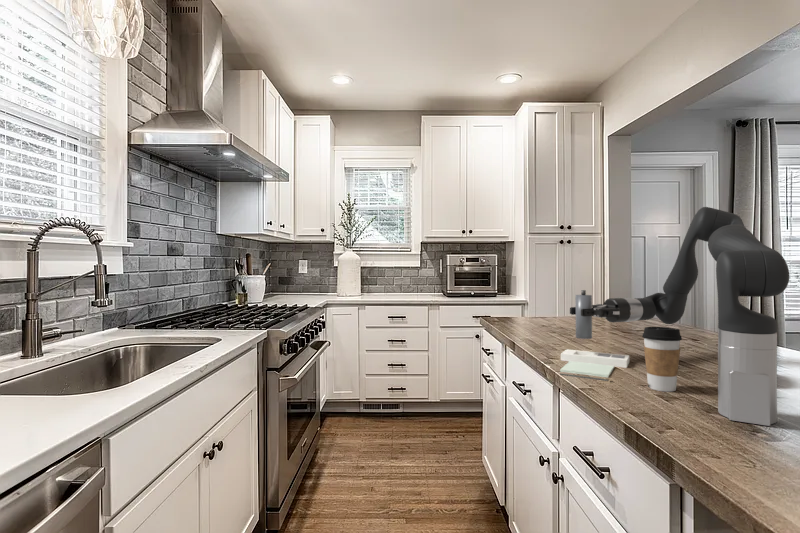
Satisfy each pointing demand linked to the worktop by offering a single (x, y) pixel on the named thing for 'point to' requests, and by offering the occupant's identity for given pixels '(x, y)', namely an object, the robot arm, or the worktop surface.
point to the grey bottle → (583, 321)
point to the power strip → (595, 358)
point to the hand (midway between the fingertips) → (576, 311)
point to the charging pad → (587, 370)
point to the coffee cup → (662, 357)
